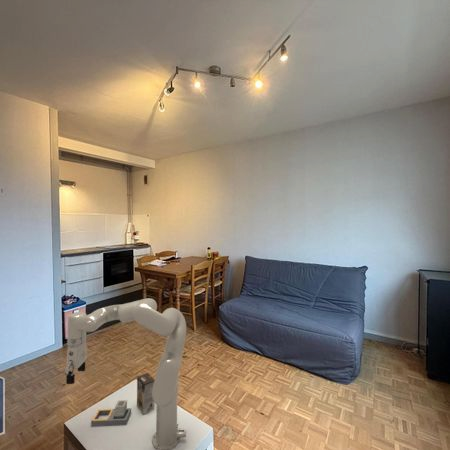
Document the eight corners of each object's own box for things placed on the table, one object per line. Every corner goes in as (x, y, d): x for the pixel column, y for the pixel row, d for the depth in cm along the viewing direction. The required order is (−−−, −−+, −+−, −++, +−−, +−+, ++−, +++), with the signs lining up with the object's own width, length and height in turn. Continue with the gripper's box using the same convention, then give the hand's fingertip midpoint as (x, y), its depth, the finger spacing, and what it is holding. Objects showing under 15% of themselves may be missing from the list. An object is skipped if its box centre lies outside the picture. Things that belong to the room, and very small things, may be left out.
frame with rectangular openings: (131, 412, 130) (131, 407, 130) (126, 424, 122) (126, 419, 122) (98, 414, 129) (98, 409, 129) (91, 426, 121) (91, 421, 121)
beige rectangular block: (126, 415, 128) (127, 399, 128) (123, 422, 124) (124, 405, 124) (118, 416, 128) (118, 400, 128) (114, 422, 123) (115, 406, 123)
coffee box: (136, 406, 135) (136, 376, 135) (147, 400, 139) (147, 372, 140) (143, 415, 128) (143, 384, 129) (154, 409, 133) (155, 379, 133)
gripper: (75, 348, 105) (74, 388, 105) (93, 332, 123) (92, 366, 122) (57, 349, 105) (56, 389, 105) (78, 332, 122) (77, 366, 122)
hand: (76, 376), depth 113 cm, fingers open, 9 cm apart
